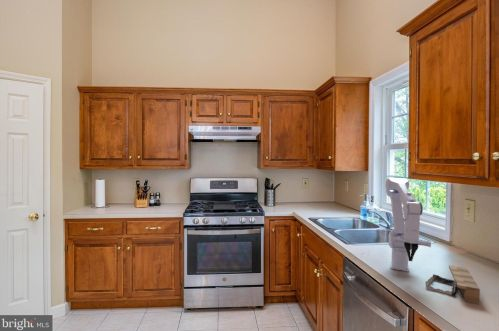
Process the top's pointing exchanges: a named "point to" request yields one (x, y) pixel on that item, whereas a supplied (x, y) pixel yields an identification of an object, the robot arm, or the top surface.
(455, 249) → the top surface
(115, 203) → the top surface
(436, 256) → the top surface
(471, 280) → the brown ridged block
